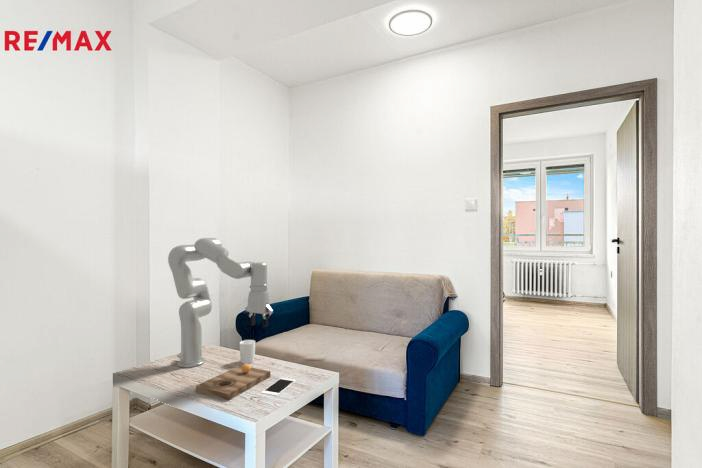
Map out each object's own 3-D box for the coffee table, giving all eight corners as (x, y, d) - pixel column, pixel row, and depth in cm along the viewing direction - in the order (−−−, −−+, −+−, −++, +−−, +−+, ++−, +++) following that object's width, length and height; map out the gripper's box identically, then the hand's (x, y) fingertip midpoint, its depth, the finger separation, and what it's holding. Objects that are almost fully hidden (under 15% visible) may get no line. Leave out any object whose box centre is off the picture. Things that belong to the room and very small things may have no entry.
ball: (239, 373, 162) (239, 364, 162) (245, 370, 165) (245, 361, 165) (246, 374, 160) (246, 365, 160) (252, 371, 164) (252, 362, 164)
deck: (240, 370, 172) (240, 365, 172) (270, 376, 164) (270, 371, 164) (195, 391, 148) (195, 385, 148) (228, 400, 141) (228, 394, 141)
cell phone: (260, 393, 148) (260, 392, 148) (280, 378, 163) (280, 377, 163) (276, 396, 145) (276, 395, 145) (296, 381, 160) (296, 379, 160)
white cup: (236, 362, 182) (236, 343, 182) (247, 357, 189) (247, 339, 189) (247, 365, 179) (247, 345, 179) (258, 360, 186) (258, 341, 186)
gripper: (239, 288, 171) (239, 326, 171) (268, 290, 164) (268, 330, 164) (250, 286, 178) (250, 322, 178) (278, 288, 171) (278, 326, 171)
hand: (258, 325), depth 171 cm, fingers open, 6 cm apart
